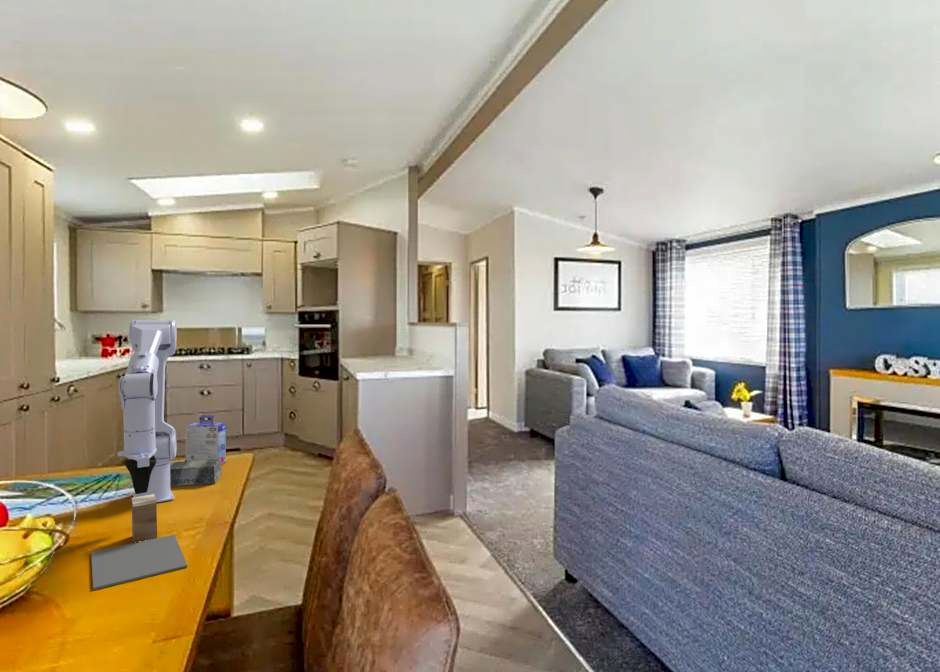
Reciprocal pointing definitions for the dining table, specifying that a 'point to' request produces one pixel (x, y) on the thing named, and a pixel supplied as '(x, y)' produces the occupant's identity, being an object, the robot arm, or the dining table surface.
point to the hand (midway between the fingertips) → (140, 492)
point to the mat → (136, 561)
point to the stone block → (195, 472)
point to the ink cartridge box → (206, 440)
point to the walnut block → (144, 518)
